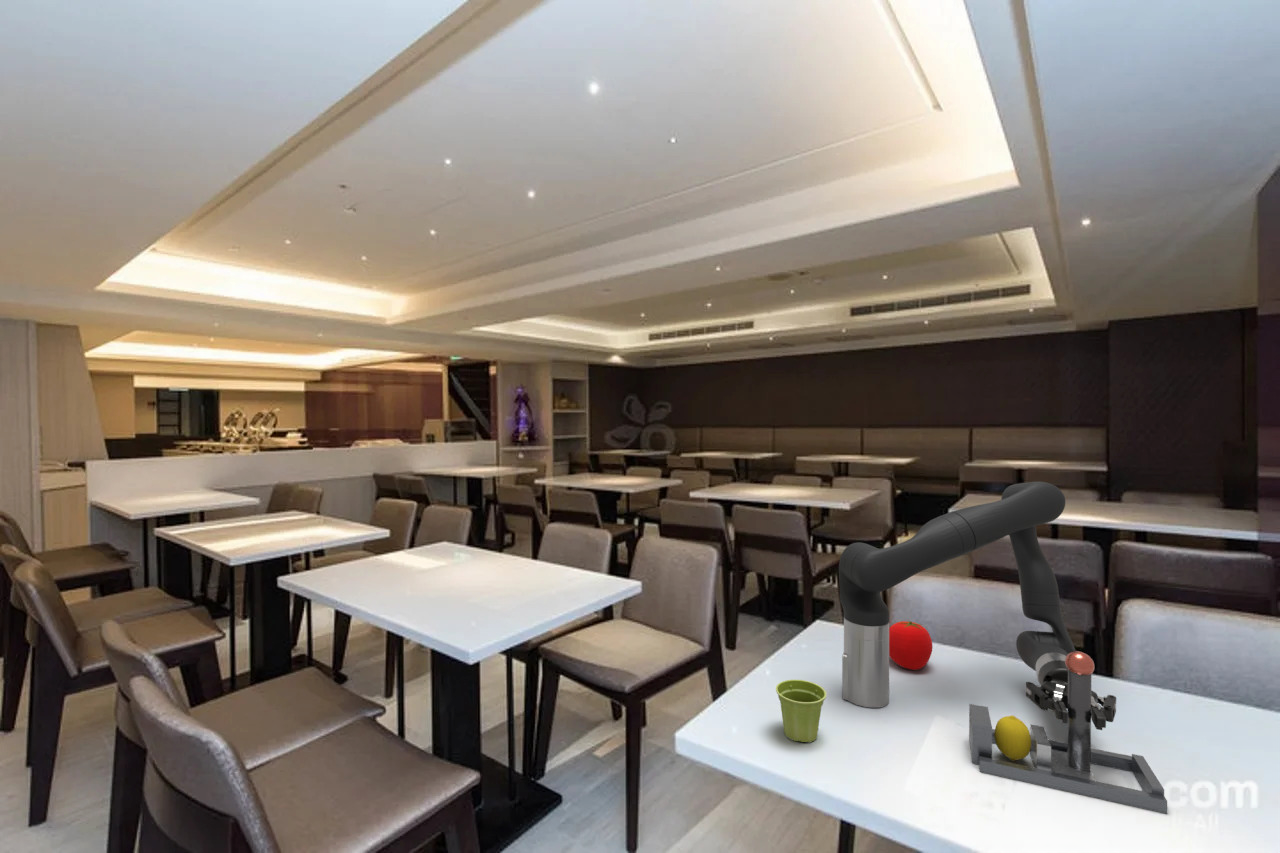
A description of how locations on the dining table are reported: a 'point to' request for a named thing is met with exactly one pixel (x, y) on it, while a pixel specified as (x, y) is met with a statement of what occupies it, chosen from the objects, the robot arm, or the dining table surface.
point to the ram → (1070, 725)
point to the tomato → (909, 645)
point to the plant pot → (800, 708)
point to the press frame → (982, 755)
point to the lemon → (1012, 738)
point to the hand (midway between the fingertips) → (1082, 720)
